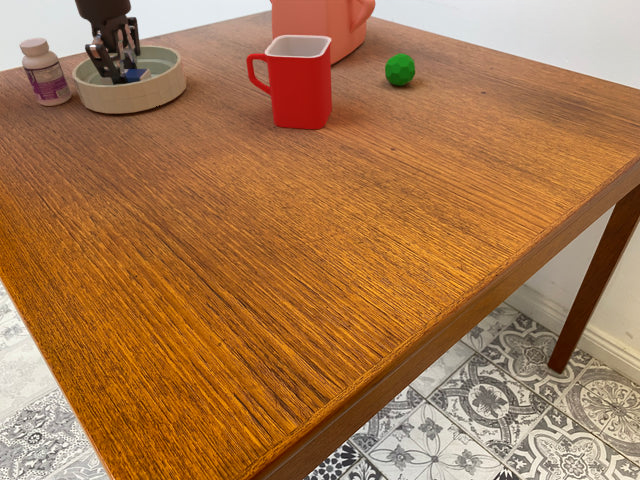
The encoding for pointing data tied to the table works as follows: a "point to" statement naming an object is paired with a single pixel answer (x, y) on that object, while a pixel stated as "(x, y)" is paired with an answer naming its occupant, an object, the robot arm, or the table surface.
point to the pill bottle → (44, 72)
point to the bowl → (134, 95)
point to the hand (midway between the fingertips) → (130, 92)
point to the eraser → (130, 76)
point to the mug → (297, 80)
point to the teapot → (324, 21)
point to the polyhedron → (400, 69)
